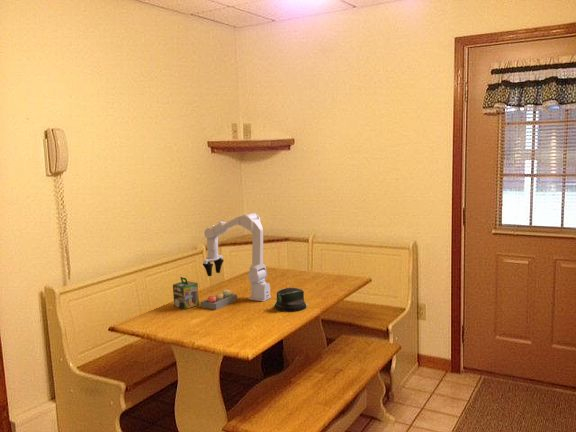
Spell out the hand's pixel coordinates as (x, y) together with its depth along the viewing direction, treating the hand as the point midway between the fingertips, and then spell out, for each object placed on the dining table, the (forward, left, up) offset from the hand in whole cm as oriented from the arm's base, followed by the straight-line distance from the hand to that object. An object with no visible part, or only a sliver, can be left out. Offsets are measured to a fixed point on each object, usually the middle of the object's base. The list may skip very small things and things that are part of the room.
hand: (213, 274), depth 292 cm
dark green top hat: (-50, +6, -11) cm, 51 cm away
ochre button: (-15, +16, -8) cm, 23 cm away
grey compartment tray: (-15, +16, -10) cm, 24 cm away
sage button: (-15, +10, -8) cm, 20 cm away
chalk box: (-2, +26, -10) cm, 28 cm away
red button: (-15, +22, -8) cm, 28 cm away
